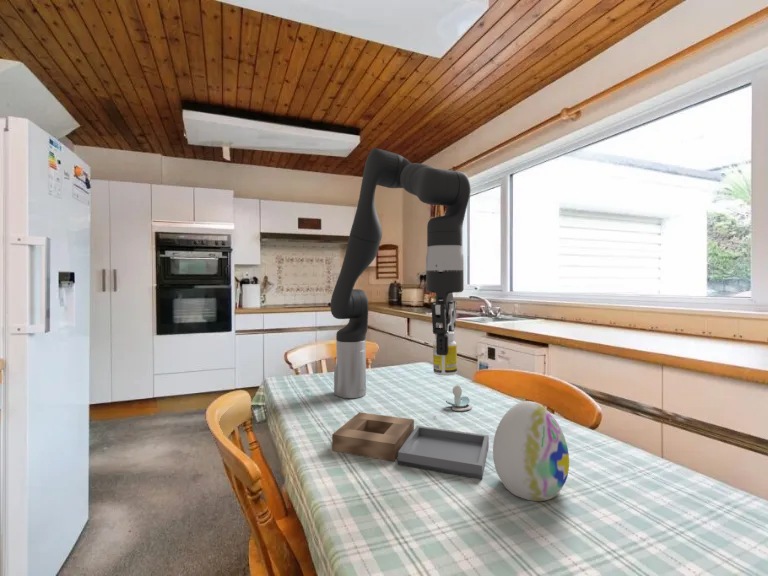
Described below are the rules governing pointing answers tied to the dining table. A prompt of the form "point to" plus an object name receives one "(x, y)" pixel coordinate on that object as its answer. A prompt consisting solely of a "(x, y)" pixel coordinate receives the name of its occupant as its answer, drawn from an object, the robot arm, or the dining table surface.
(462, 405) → the pacifier
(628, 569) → the dining table surface
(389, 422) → the walnut holder
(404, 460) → the charcoal tray
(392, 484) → the dining table surface
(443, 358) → the supplement bottle
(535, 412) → the decorative egg
